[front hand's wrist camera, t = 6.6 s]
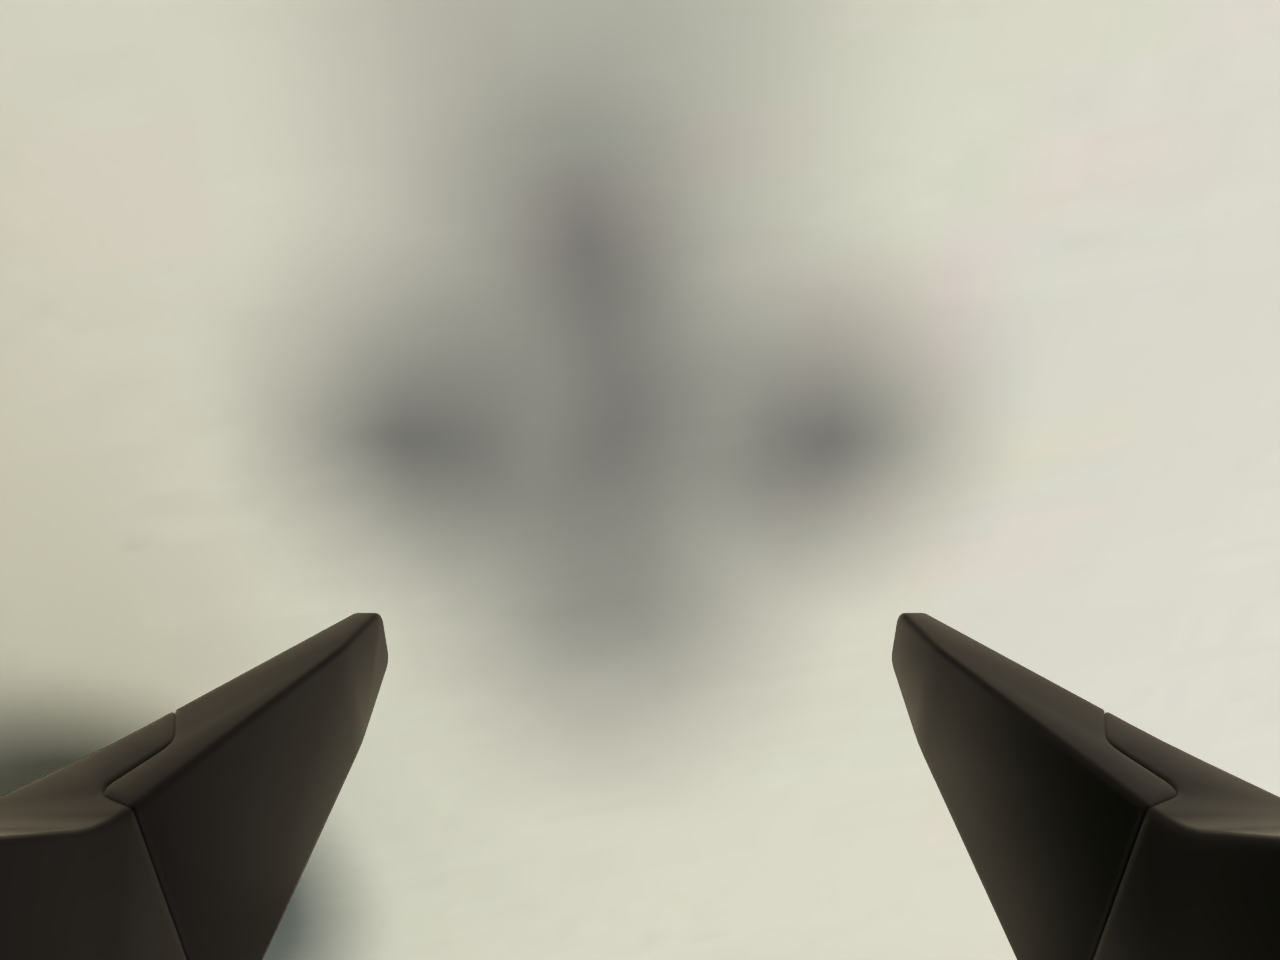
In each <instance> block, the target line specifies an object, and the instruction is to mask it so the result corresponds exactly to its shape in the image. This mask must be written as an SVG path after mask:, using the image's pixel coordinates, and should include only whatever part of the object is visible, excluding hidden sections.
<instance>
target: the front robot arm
mask: <svg viewBox="0 0 1280 960" xmlns="http://www.w3.org/2000/svg"><path fill="white" fill-rule="evenodd" d="M387 663H388V651H387V645H386V638H385V632H384V626H383V621H382V618H381V616H380V615H379V614H377V613H356V614H353V615H351V616H349V617H347V618H346V619H344V620H342V621H340V622H338V623H336V624H334V625H333V626H331V627H329V628H327V629H325V630H323V631H321V632H320V633H318V634H316V635H314V636H312V637H310V638H309V639H307V640H305V641H303V642H301V643H299V644H297V645H296V646H294V647H292V648H290V649H288V650H286V651H285V652H283V653H281V654H279V655H277V656H275V657H273V658H272V659H270V660H268V661H266V662H264V663H262V664H260V665H259V666H257V667H255V668H253V669H251V670H249V671H248V672H246V673H244V674H242V675H240V676H238V677H236V678H235V679H233V680H231V681H229V682H227V683H225V684H223V685H222V686H220V687H218V688H216V689H214V690H212V691H211V692H209V693H207V694H205V695H203V696H201V697H199V698H198V699H196V700H194V701H192V702H190V703H188V704H186V705H185V706H183V707H181V708H179V709H177V710H176V714H175V713H173V712H172V713H170V714H168V715H166V716H164V717H162V718H160V719H159V720H157V721H155V722H153V723H151V724H149V725H147V726H145V727H144V728H142V729H140V730H138V731H136V732H134V733H132V734H130V735H128V736H126V737H124V738H122V739H121V740H119V741H117V742H115V743H113V744H111V745H109V746H107V747H105V748H102V749H100V750H98V751H96V752H94V753H92V754H90V755H88V756H86V757H84V758H82V759H80V760H78V761H76V762H74V763H72V764H70V765H67V766H65V767H63V768H61V769H59V770H57V771H55V772H53V773H51V774H48V775H46V776H44V777H42V778H40V779H38V780H36V781H34V782H32V783H29V784H27V785H25V786H23V787H21V788H19V789H17V790H15V791H13V792H11V793H8V794H6V795H4V796H2V797H0V960H263V958H264V956H265V954H266V951H267V949H268V947H269V945H270V943H271V940H272V938H273V936H274V934H275V932H276V930H277V927H278V925H279V923H280V921H281V919H282V917H283V914H284V912H285V910H286V908H287V906H288V903H289V901H290V899H291V897H292V895H293V893H294V890H295V888H296V886H297V884H298V882H299V879H300V877H301V875H302V873H303V871H304V869H305V866H306V864H307V862H308V860H309V858H310V856H311V853H312V851H313V849H314V847H315V845H316V842H317V840H318V838H319V836H320V834H321V832H322V829H323V827H324V825H325V823H326V821H327V819H328V816H329V814H330V812H331V810H332V808H333V805H334V803H335V801H336V799H337V797H338V795H339V792H340V790H341V788H342V786H343V784H344V781H345V779H346V777H347V775H348V773H349V771H350V768H351V766H352V764H353V762H354V760H355V758H356V755H357V753H358V751H359V748H360V746H361V744H362V741H363V738H364V735H365V732H366V730H367V726H368V723H369V720H370V717H371V714H372V711H373V708H374V705H375V702H376V699H377V696H378V693H379V689H380V686H381V683H382V680H383V677H384V674H385V671H386V668H387ZM892 663H893V668H894V671H895V674H896V677H897V680H898V683H899V686H900V689H901V693H902V696H903V699H904V702H905V705H906V708H907V711H908V714H909V717H910V720H911V723H912V726H913V730H914V732H915V735H916V738H917V741H918V744H919V746H920V748H921V751H922V753H923V755H924V758H925V760H926V762H927V764H928V766H929V768H930V771H931V773H932V775H933V777H934V779H935V781H936V784H937V786H938V788H939V790H940V792H941V795H942V797H943V799H944V801H945V803H946V805H947V808H948V810H949V812H950V814H951V816H952V819H953V821H954V823H955V825H956V827H957V829H958V832H959V834H960V836H961V838H962V840H963V842H964V845H965V847H966V849H967V851H968V853H969V856H970V858H971V860H972V862H973V864H974V866H975V869H976V871H977V873H978V875H979V877H980V880H981V882H982V884H983V886H984V888H985V890H986V893H987V895H988V897H989V899H990V901H991V903H992V906H993V908H994V910H995V912H996V914H997V917H998V919H999V921H1000V923H1001V925H1002V927H1003V930H1004V932H1005V934H1006V936H1007V938H1008V941H1009V943H1010V945H1011V947H1012V949H1013V951H1014V954H1015V956H1016V958H1017V960H1280V797H1278V796H1276V795H1274V794H1272V793H1269V792H1267V791H1265V790H1263V789H1261V788H1259V787H1257V786H1255V785H1253V784H1251V783H1248V782H1246V781H1244V780H1242V779H1240V778H1238V777H1236V776H1234V775H1232V774H1229V773H1227V772H1225V771H1223V770H1221V769H1219V768H1217V767H1215V766H1213V765H1210V764H1208V763H1206V762H1204V761H1202V760H1200V759H1198V758H1196V757H1194V756H1192V755H1190V754H1188V753H1186V752H1184V751H1182V750H1180V749H1178V748H1175V747H1173V746H1171V745H1169V744H1167V743H1165V742H1163V741H1161V740H1159V739H1158V738H1156V737H1154V736H1152V735H1150V734H1148V733H1146V732H1144V731H1142V730H1140V729H1138V728H1136V727H1135V726H1133V725H1131V724H1129V723H1127V722H1125V721H1123V720H1121V719H1120V718H1118V717H1116V716H1114V715H1112V714H1110V713H1108V712H1107V713H1105V714H1104V710H1103V709H1101V708H1099V707H1097V706H1095V705H1094V704H1092V703H1090V702H1088V701H1086V700H1084V699H1082V698H1081V697H1079V696H1077V695H1075V694H1073V693H1071V692H1070V691H1068V690H1066V689H1064V688H1062V687H1060V686H1058V685H1057V684H1055V683H1053V682H1051V681H1049V680H1047V679H1045V678H1044V677H1042V676H1040V675H1038V674H1036V673H1034V672H1032V671H1031V670H1029V669H1027V668H1025V667H1023V666H1021V665H1020V664H1018V663H1016V662H1014V661H1012V660H1010V659H1008V658H1007V657H1005V656H1003V655H1001V654H999V653H997V652H995V651H994V650H992V649H990V648H988V647H986V646H984V645H983V644H981V643H979V642H977V641H975V640H973V639H971V638H970V637H968V636H966V635H964V634H962V633H960V632H958V631H957V630H955V629H953V628H951V627H949V626H947V625H946V624H944V623H942V622H940V621H938V620H936V619H934V618H933V617H931V616H929V615H927V614H924V613H903V614H901V615H900V616H899V618H898V621H897V626H896V632H895V638H894V645H893V651H892Z"/></svg>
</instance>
